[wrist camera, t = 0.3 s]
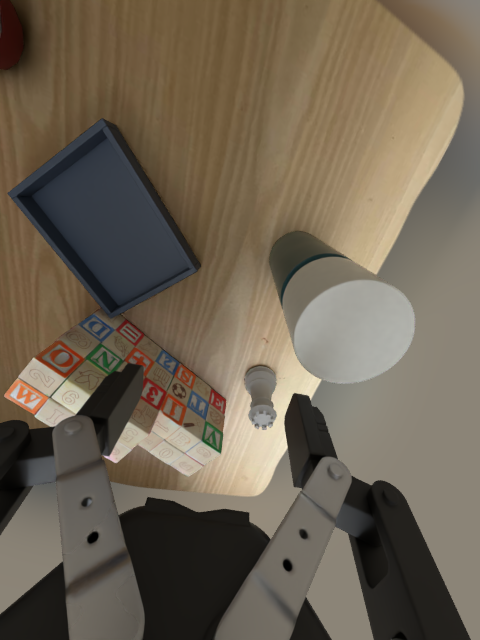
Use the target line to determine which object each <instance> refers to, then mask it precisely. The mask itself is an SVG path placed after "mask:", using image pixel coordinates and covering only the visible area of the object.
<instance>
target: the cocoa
mask: <svg viewBox="0 0 480 640" xmlns="http://www.w3.org/2000/svg"><path fill="white" fill-rule="evenodd" d="M23 49H24V45H23V29H22V26H21V23H20V21H19V18H18V16H17V13H16V11H15V8H14V7H13V5H12V4H11V2H10V0H0V70H7V69H9V68H10V67H12V66H13V65H15V64H16V63H17V62H18V61H19V59H20V57H21V54H22V51H23Z"/></svg>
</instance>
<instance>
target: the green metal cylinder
mask: <svg viewBox="0 0 480 640" xmlns="http://www.w3.org/2000/svg"><path fill="white" fill-rule="evenodd" d="M326 257H342V258H346V259H349V258H348V257H346V256H344V255H343V254H341V253H340V252H338V251H336V250H335V249H333V248H332V247H330V246H328V245H327V244H325V243H324V242H322V241H320V240H319V239H317V238H316V237H314V236H312V235H311V234H309V233H306V232H301V231H295V232H291V233H288V234H285V235H284V236H282V237H281V238H280V239H278V240H277V241H276V243H275V244H274V246H273V247H272V250H271V252H270V257H269V264H270V268H271V272H272V275H273V278H274V282H275V285H276V289H277V292H278V296H279V299H280V302H281V306H282V303H283V295H284V291H285V289H286V286H287V284H288V283H289V281H290V279H291V278H292V277H293V276H294V274H295V273H296V272H297V271H298V270H299V269H301V268H302V267H303V266H305V265H307V264H308V263H310V262H312V261H315V260H317V259H321V258H326ZM349 260H351V259H349ZM282 309H283V306H282Z"/></svg>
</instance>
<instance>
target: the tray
mask: <svg viewBox="0 0 480 640" xmlns="http://www.w3.org/2000/svg"><path fill="white" fill-rule="evenodd" d="M8 195H9V196H10V197H11V198H12V200H13V201H14V202H15V203H16V205H17V206H18V207H19V208H20V209H21V211H22V212H23V213H24V214H25V216H26V217H27V218H28V219H29V220H30V222H31V223H32V224H33V225H34V226H35V228H36V229H37V230H38V231H39V233H40V234H41V235H42V236H43V237H44V239H45V240H46V241H47V242H48V243H49V245H50V246H51V247H52V248H53V250H54V251H55V252H56V253H57V254H58V256H59V257H60V258H61V259H62V260H63V262H64V263H65V264H66V265H67V267H68V268H69V269H70V270H71V271H72V273H73V274H74V275H75V276H76V278H77V279H78V280H79V281H80V282H81V284H82V285H83V286H84V287H85V288H86V290H87V291H88V292H89V293H90V295H91V296H92V297H93V298H94V299H95V301H96V302H97V303H98V304H99V305H100V307H101V308H102V309H103V310H104V312H105V313H106V314H107V315H108V316H109V318H110V319H112V318H114V317H115V316H117V315H119V314H121V313H123V312H124V311H126V310H128V309H130V308H132V307H134V306H135V305H137V304H139V303H141V302H143V301H144V300H146V299H148V298H150V297H152V296H154V295H155V294H157V293H159V292H161V291H163V290H164V289H166V288H168V287H170V286H172V285H174V284H175V283H177V282H179V281H181V280H183V279H184V278H186V277H188V276H190V275H192V274H194V273H195V272H197V271H198V269H199V268H200V267H201V265H200V263H199V262H198V260H197V258H196V257H195V255H194V253H193V252H192V250H191V248H190V247H189V245H188V243H187V242H186V240H185V238H184V237H183V235H182V234H181V232H180V230H179V229H178V227H177V225H176V224H175V222H174V220H173V219H172V217H171V215H170V214H169V212H168V210H167V209H166V207H165V206H164V204H163V202H162V201H161V199H160V197H159V196H158V194H157V192H156V191H155V189H154V187H153V186H152V184H151V182H150V181H149V179H148V178H147V176H146V174H145V173H144V171H143V169H142V168H141V166H140V164H139V163H138V161H137V159H136V158H135V156H134V154H133V153H132V151H131V150H130V148H129V146H128V145H127V143H126V141H125V140H124V138H123V136H122V135H121V133H120V131H119V130H118V128H117V126H116V125H114V124H112V123H111V122H109V121H107V120H105V119H103V118H102V119H101V120H99V121H98V122H97V123H95V124H94V125H93V126H92V127H90V128H89V129H88V130H87V131H85V132H84V133H83V134H82V135H80V136H79V137H78V138H77V139H75V140H74V141H73V142H72V143H70V144H69V145H68V146H66V147H65V148H64V149H63V150H61V151H60V152H59V153H58V154H56V155H55V156H54V157H53V158H51V159H50V160H49V161H48V162H46V163H45V164H44V165H42V166H41V167H40V168H39V169H37V170H36V171H35V172H34V173H32V174H31V175H30V176H29V177H27V178H26V179H25V180H24V181H22V182H21V183H20V184H19V185H17V186H16V187H15V188H13V189H12V190H11V191H10V192H8Z"/></svg>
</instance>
